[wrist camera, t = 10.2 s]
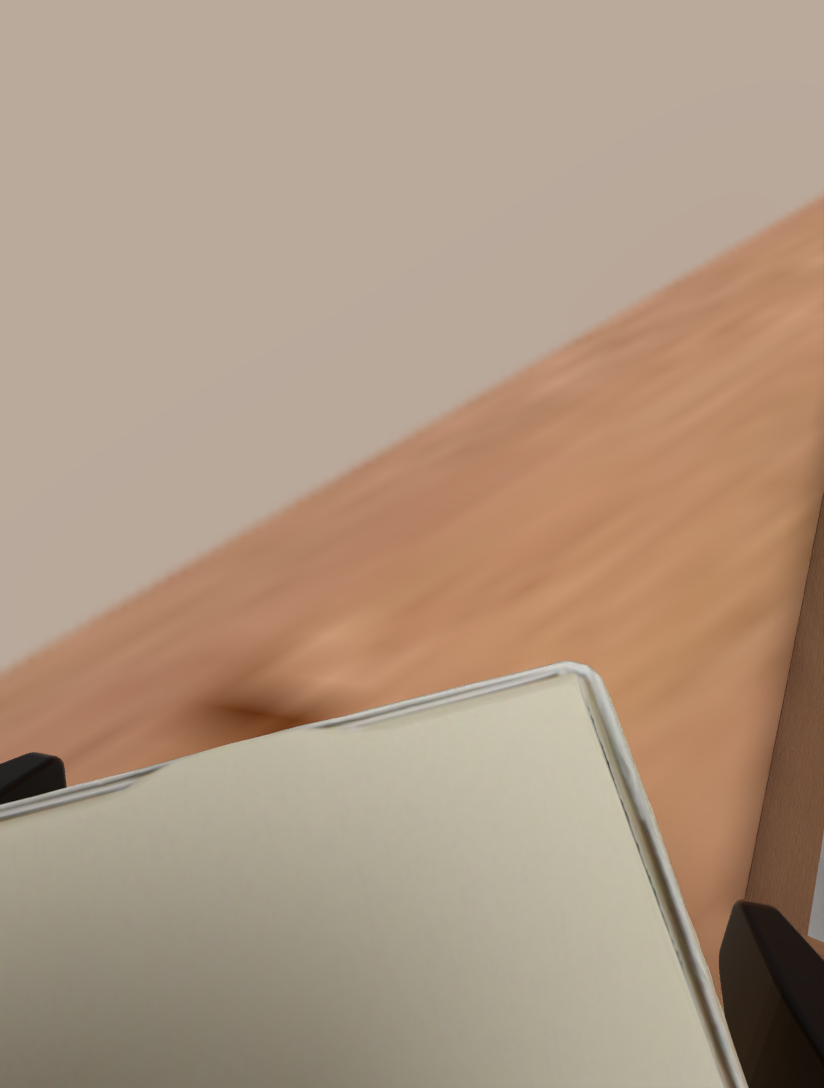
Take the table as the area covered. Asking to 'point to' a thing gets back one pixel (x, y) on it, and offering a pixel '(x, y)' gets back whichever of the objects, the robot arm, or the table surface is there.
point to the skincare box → (363, 910)
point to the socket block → (798, 779)
